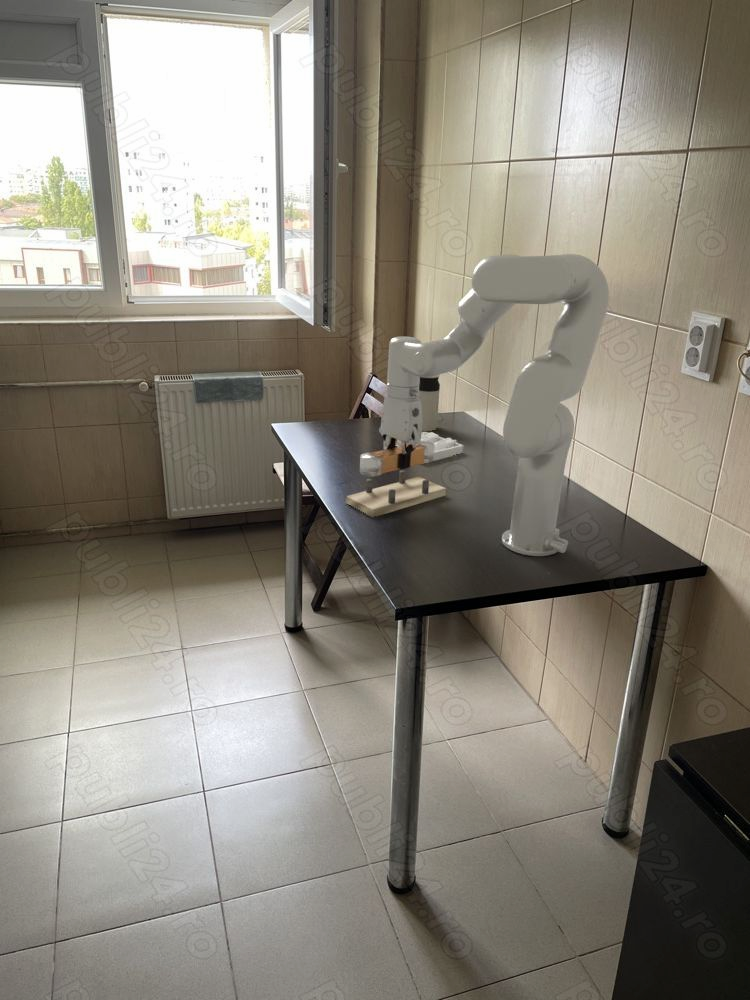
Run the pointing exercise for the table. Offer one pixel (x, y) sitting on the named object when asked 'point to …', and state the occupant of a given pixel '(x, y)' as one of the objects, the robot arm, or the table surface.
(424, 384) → the travel mug
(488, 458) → the table surface
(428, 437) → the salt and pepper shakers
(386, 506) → the tool rack
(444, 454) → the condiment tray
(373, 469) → the orange dumbbell
